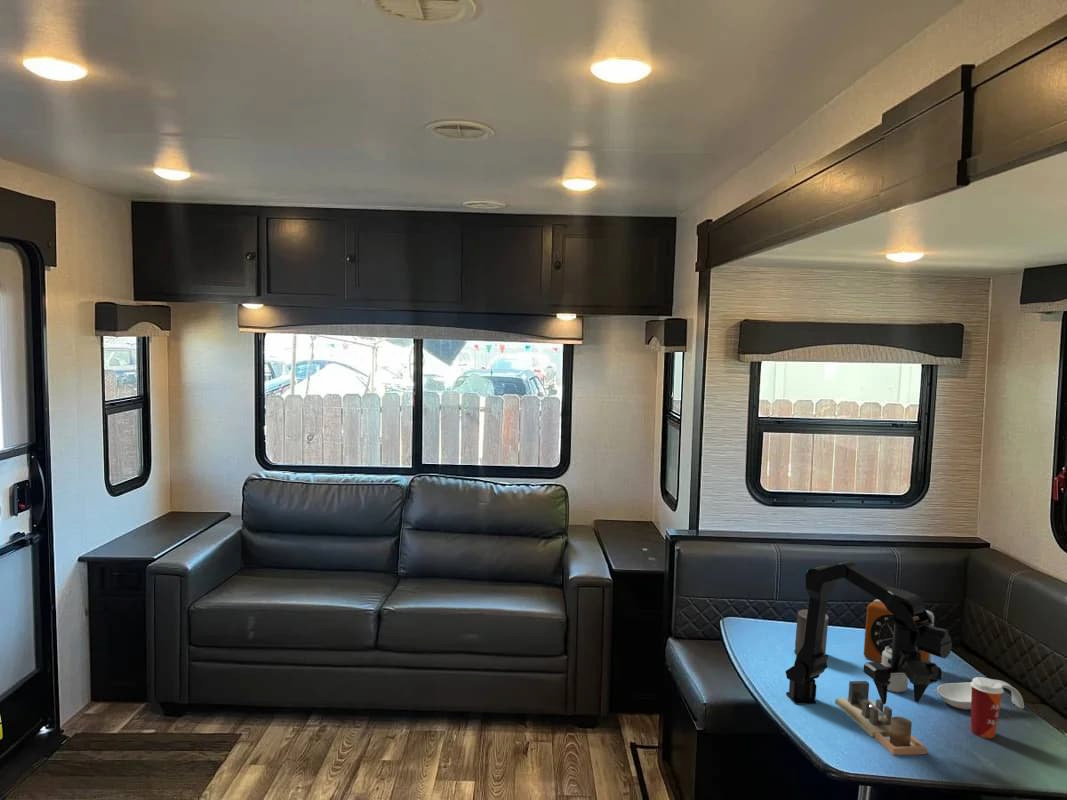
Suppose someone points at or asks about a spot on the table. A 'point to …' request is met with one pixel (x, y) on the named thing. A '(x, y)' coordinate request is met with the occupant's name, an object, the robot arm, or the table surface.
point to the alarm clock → (882, 632)
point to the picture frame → (902, 750)
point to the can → (897, 681)
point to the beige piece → (867, 715)
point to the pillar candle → (801, 631)
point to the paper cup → (985, 706)
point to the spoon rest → (962, 692)
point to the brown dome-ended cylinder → (900, 731)
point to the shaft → (863, 697)
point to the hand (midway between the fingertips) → (900, 702)
